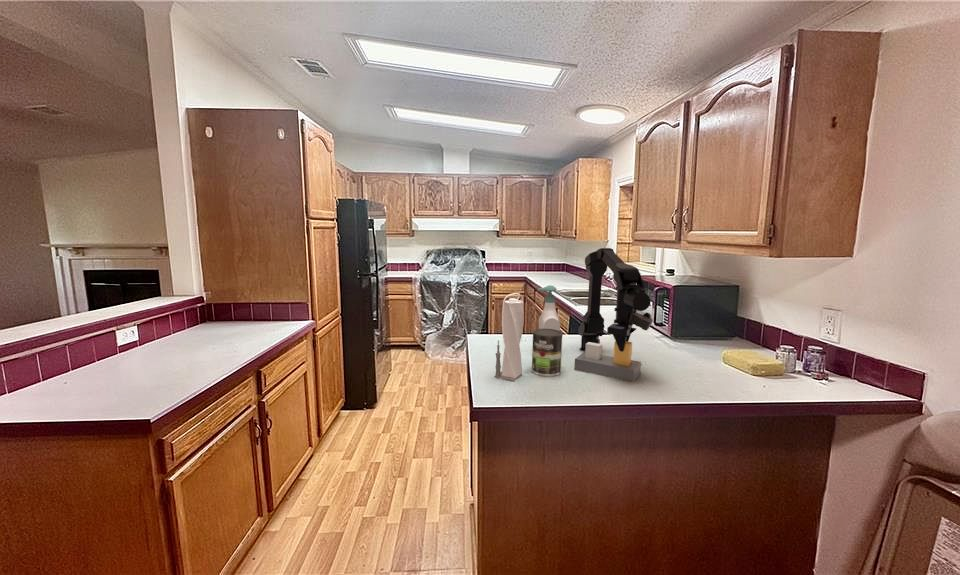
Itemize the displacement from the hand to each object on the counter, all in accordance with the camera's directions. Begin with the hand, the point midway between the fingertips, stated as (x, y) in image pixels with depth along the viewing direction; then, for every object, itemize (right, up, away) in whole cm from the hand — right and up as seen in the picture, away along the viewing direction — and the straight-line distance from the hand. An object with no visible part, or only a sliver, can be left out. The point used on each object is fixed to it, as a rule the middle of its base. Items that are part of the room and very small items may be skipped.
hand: (622, 350), depth 134 cm
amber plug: (0, -6, +1) cm, 6 cm away
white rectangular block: (-8, -8, +7) cm, 13 cm away
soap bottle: (-22, -5, +25) cm, 33 cm away
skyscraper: (-38, -9, 0) cm, 39 cm away
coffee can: (-25, -8, +4) cm, 27 cm away
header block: (-4, -8, +4) cm, 10 cm away
